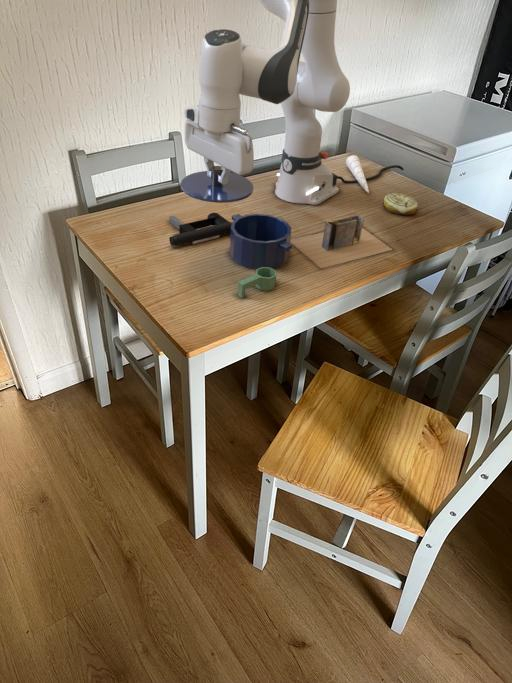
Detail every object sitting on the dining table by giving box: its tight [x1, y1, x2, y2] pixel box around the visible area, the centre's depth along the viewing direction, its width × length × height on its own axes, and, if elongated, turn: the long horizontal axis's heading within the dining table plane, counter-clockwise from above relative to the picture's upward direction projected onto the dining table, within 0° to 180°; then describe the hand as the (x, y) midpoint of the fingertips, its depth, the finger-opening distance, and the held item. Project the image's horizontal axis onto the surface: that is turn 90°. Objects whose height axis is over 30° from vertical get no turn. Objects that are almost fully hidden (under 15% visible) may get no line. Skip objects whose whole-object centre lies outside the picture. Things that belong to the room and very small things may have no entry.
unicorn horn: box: [345, 154, 370, 194], centre depth 188 cm, size 5×24×5 cm, turn 3°
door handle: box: [168, 212, 233, 247], centre depth 153 cm, size 3×20×16 cm
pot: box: [229, 213, 294, 270], centre depth 144 cm, size 16×21×8 cm
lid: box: [180, 165, 254, 204], centre depth 123 cm, size 17×17×5 cm
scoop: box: [237, 267, 277, 299], centre depth 132 cm, size 11×5×4 cm, turn 132°
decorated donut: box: [382, 192, 419, 216], centre depth 172 cm, size 10×11×4 cm
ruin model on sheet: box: [290, 214, 393, 269], centre depth 150 cm, size 25×16×10 cm, turn 120°
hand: (217, 180), depth 124 cm, fingers closed on lid, 2 cm apart
